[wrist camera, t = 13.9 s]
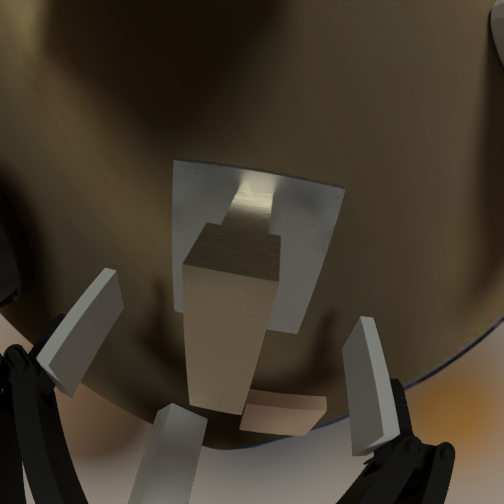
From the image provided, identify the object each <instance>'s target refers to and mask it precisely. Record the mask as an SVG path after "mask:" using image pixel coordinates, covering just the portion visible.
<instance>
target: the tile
mask: <svg viewBox="0 0 504 504" xmlns="http://www.w3.org/2000/svg"><path fill="white" fill-rule="evenodd" d="M326 411H327V403H326V397H322V396H307V395H295V394H285V393H276V392H267V391H260V390H253V389H249V392H248V395H247V398H246V402H245V405H244V409H243V413H242V416H241V422H240V428H239V430H245V431H252V432H261V433H270V434H281V435H295V436H305V435H306V434H307V433H308V432H309V431H310V429H311V428H312V427H313V426H314V425H315V424H316V423H317V422H318V420H319V419H320V418H321V417H322V416H323V415H324V413H325V412H326Z"/></svg>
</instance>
